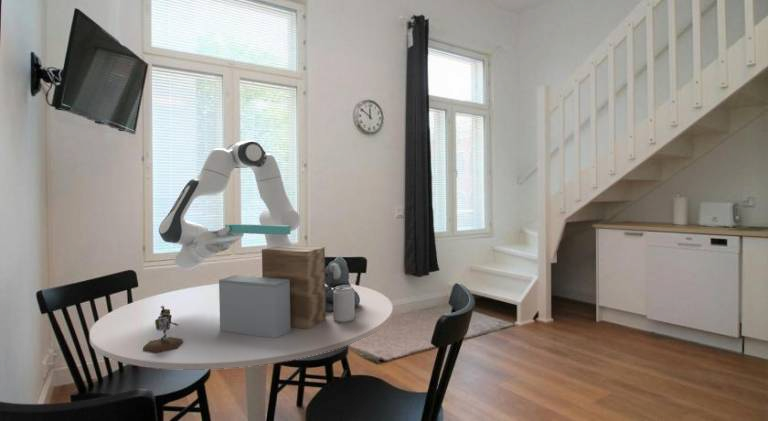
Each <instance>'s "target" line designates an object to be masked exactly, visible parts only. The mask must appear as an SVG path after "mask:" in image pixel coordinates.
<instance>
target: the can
mask: <svg viewBox="0 0 768 421" xmlns="http://www.w3.org/2000/svg"><path fill="white" fill-rule="evenodd" d="M352 288H353V286H352V285H351V286H347V285H343V286H337V287H335V290H334V292H333V305H334V311H333V319H334V321H335V322H337V323H349V322H350V323H351V322H352V321H353V320H354V319H355V316H356V314H355V309H356V307H355V303H354V290H355V289H354V288H353V289H354V290H353V289H352Z"/></svg>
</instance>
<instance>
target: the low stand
mask: <svg viewBox="0 0 768 421" xmlns="http://www.w3.org/2000/svg"><path fill="white" fill-rule="evenodd" d="M218 294H219V299H218V301H219V302H218V303H219V330H220V331H221V332H228V333H237V334H243V335H251V336H255V337H256V336H258V337H266V338H272V339H278V338H280V337H281V336H283V335H285V334H286V333H288V332H290V331H291V327H290V279H277V278H264V277H262V276H250V275H249V276H248V275H237V274H236V275H231V276H228V277H225V278H222V279H218Z"/></svg>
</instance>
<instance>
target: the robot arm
mask: <svg viewBox="0 0 768 421" xmlns="http://www.w3.org/2000/svg"><path fill="white" fill-rule="evenodd" d="M246 168H250V169H251V170H252V172H253V173H254V178H255V182H256V186H257V190H258V194H259V197H260V200H261V201H263V203H264V204H265V206H266V209H263V210H262V211H261V212H260V214H259V217H258V221H259V225H286V226H290V232H293V231H296V230H297V228H298V227H299V226H300V224H301V217H300V214H299V213H298V211H297V210H295V208H294V207H293V205H292V203H291V201H290V200H289V197H288V195H287V193H286V189H285V185H284V182H283V178H282V175H281V171H280V167H279V165H278V163H277V161H276V159H275V157H274V156H273V154H271V153H267V152H266V151H265V150H264V149H263V146H262V145H261V144H260V143H259V142H257V141H255V140H249V139H248V140H243V141H239V142H236V143H233V144H230V145H229V146H228V147H227V148H220V147H218V148H214V149H212V150H211V151H210V153H209V154H208V156H207V158H206V160H205V161H204V164H203V166H202V168H201V171H200V173H199V174H198V175H197V177H196V178H192V179H190V180H189V181H188V182H187V184H185V186H184V188H183V189H182V191H181V192H180V194H179V195H178V197H177V199H176V200H175V202H174V204H173V206H172V208H171V209H170V211H169V212H168V214H167V215H166V216H165V218H164V219H163V220H162V221H161V223H160V225H159V228H158V232H159V235H160V238H161V239H162V240H163V242H165V243H171V244H177V245H181V248H180V250H179V252H178V253H177V254H176V255H175V256H174V263H175V265H176V266H178V267H179V269H182V270H187V271H188V270H192V269H195V268H197V267H199V266H200V265H202V264H203V263H205V261H206V260H208V259H210V258H212V257H214V256H216V255H217V254H219V253H220V252H223V251H226V250H228V249H230V248H231V246H232V245H234V244H235V243H236V242H239V240H241V239H242V238H243V237H244V234H245V233H227V232H230V231H231V230H232V228H231V226H227V227H223V228H221V229H215V230H208V227H207V226H205V225H203V224H200V223H197V222H193V221H190V220H187V219H185V218H184V217H185V215H186V213H187V212H188V211H189V208H190V207H191V205H192V203H193V201H194V200H195V199H196V198H199V197H204V196H208V197H209V196H210V197H211V196H216V195H219V194H221V193H223V192H224V191H225V190H226V189H227V186H228V183H229V180H230V178H231V175H232V172H233V171H234V169H246ZM264 237H265V243H266V249H267V248H272V247H277V246H281V245H285V246H293V245H292V242H291V241H290V238H289V234H288V235H276V234H264Z"/></svg>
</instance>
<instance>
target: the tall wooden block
mask: <svg viewBox="0 0 768 421" xmlns="http://www.w3.org/2000/svg"><path fill="white" fill-rule="evenodd" d="M325 249H326V248H325V247H323V246H303V245H292V246H285V245H281V246H277V247H272V248H267V247H266V248H262V249H261V267H262V268H261V270H262V273H261V275H262V276H261V277H264V278H277V279H290V328H296V329H298V328H299V329H306V330H309V329H311V328H312V327H315V326H316V325H318V324H319V323H322V322H323V321H324V320H326V311H325V286H326V284H325V268H326V263H325V262H326V260H325V255H326V252H325ZM322 320H323V321H322Z"/></svg>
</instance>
